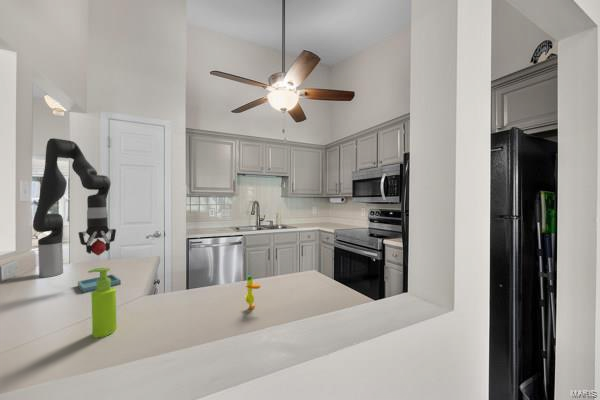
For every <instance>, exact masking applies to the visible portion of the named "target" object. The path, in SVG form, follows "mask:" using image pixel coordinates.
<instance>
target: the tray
mask: <svg viewBox="0 0 600 400" xmlns="http://www.w3.org/2000/svg"><path fill="white" fill-rule="evenodd" d="M107 277H108V278H110V283H111V287H115V286H120V285H121V284H122V280H121V279H120V278H119V277H117V276H116V275H115V274H112V273H111V274H107ZM98 279H100V276H98V277H94V278H92V277H91V278H87V279H83V280H78V281H77V287H78V288H79V289H80V290H81V292H82V294H87V293H90V292H91V293H92V292H93V291H96V290H97V280H98Z"/></svg>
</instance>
